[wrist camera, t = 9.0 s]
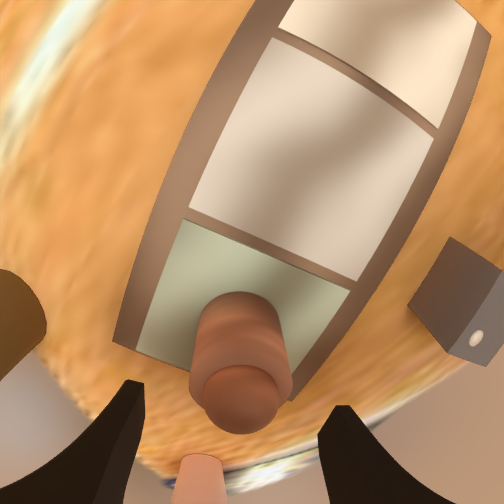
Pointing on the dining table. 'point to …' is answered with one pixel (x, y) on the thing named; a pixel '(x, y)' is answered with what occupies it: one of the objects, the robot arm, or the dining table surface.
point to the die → (463, 304)
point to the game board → (303, 170)
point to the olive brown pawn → (18, 321)
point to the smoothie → (200, 481)
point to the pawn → (240, 363)
